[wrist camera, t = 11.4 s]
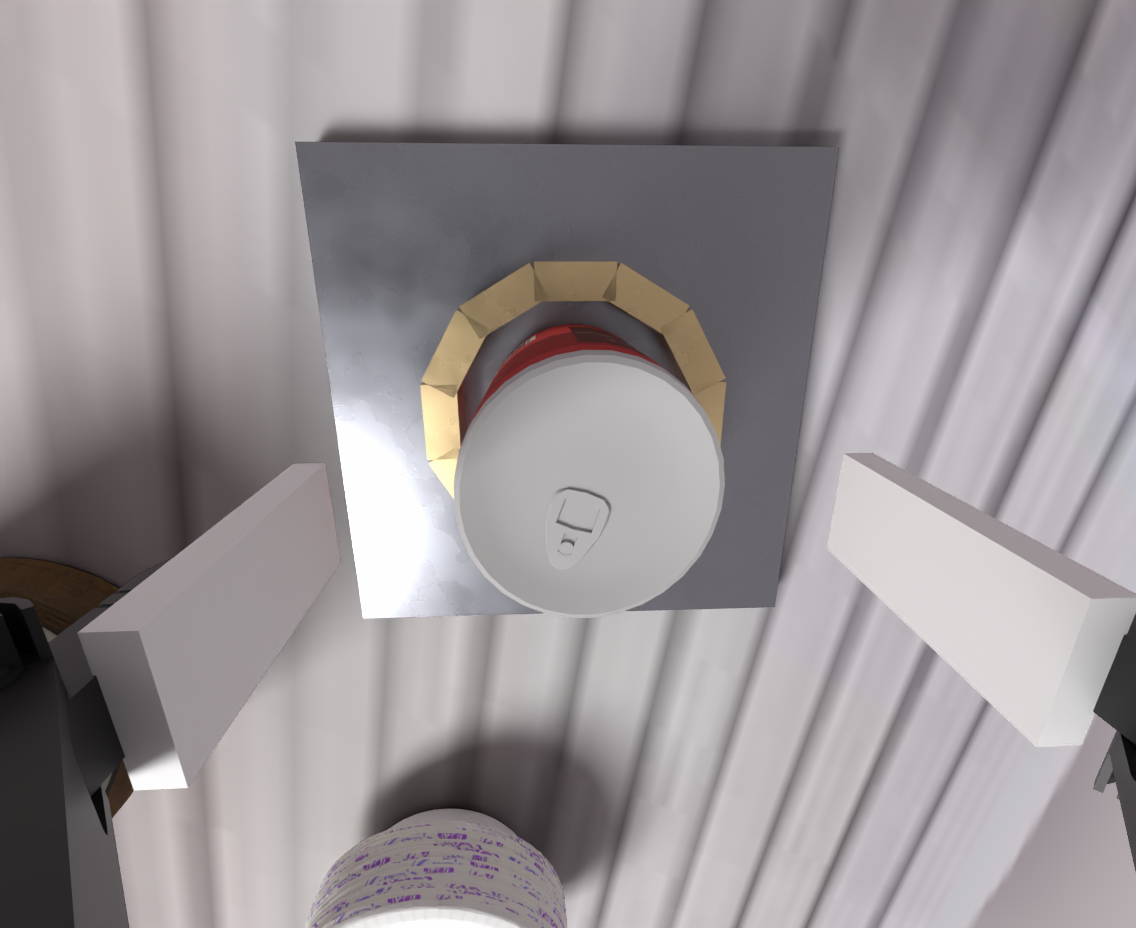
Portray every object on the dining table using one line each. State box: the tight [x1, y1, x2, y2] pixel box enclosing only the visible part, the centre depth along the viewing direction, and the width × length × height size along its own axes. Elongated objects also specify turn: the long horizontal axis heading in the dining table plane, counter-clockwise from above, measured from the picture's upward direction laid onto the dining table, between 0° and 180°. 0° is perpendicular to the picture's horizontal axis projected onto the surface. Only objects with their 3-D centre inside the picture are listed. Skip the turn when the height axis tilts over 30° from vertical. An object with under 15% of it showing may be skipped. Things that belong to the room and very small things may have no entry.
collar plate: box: [295, 142, 839, 618], centre depth 25 cm, size 22×22×4 cm
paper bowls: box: [305, 809, 567, 928], centre depth 33 cm, size 15×15×8 cm
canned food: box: [454, 324, 725, 618], centre depth 20 cm, size 8×8×11 cm
